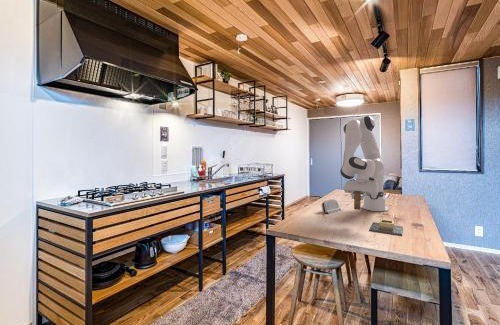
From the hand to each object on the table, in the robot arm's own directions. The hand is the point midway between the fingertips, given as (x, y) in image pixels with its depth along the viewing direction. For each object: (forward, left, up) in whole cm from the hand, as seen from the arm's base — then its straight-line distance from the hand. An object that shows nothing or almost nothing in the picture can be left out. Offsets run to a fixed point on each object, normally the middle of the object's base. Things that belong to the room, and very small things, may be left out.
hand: (357, 198), depth 157 cm
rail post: (-1, 0, -6) cm, 6 cm away
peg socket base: (-1, +16, -16) cm, 23 cm away
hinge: (-27, -22, -17) cm, 39 cm away
